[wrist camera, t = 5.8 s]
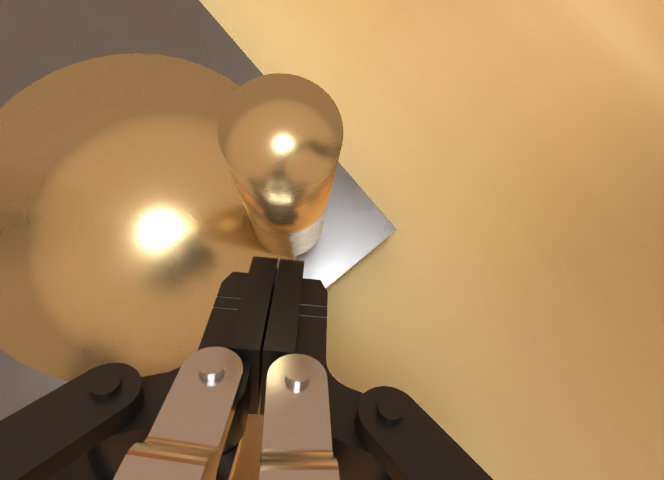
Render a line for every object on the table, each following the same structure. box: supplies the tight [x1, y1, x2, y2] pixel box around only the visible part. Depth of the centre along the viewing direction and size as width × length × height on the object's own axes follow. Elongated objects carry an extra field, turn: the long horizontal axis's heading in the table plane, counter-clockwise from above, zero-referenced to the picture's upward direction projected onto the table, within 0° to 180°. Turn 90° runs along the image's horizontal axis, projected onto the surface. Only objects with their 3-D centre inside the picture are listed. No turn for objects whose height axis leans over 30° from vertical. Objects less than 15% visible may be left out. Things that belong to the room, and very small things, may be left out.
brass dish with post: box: [0, 53, 343, 382], centre depth 13 cm, size 13×13×10 cm
